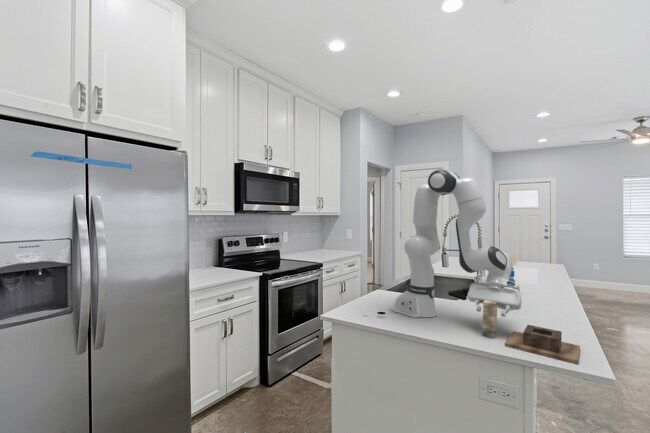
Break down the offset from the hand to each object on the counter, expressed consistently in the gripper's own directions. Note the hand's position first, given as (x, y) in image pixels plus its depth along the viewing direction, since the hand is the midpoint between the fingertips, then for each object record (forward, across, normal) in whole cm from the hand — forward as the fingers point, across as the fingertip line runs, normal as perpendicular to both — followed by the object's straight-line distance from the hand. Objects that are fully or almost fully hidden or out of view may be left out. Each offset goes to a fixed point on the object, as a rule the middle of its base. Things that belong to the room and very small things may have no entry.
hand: (490, 313), depth 133 cm
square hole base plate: (+6, +18, +7) cm, 20 cm away
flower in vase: (-48, -10, +62) cm, 79 cm away
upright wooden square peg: (+7, 0, +6) cm, 9 cm away
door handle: (-34, -25, +47) cm, 63 cm away
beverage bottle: (-27, -3, +40) cm, 49 cm away
